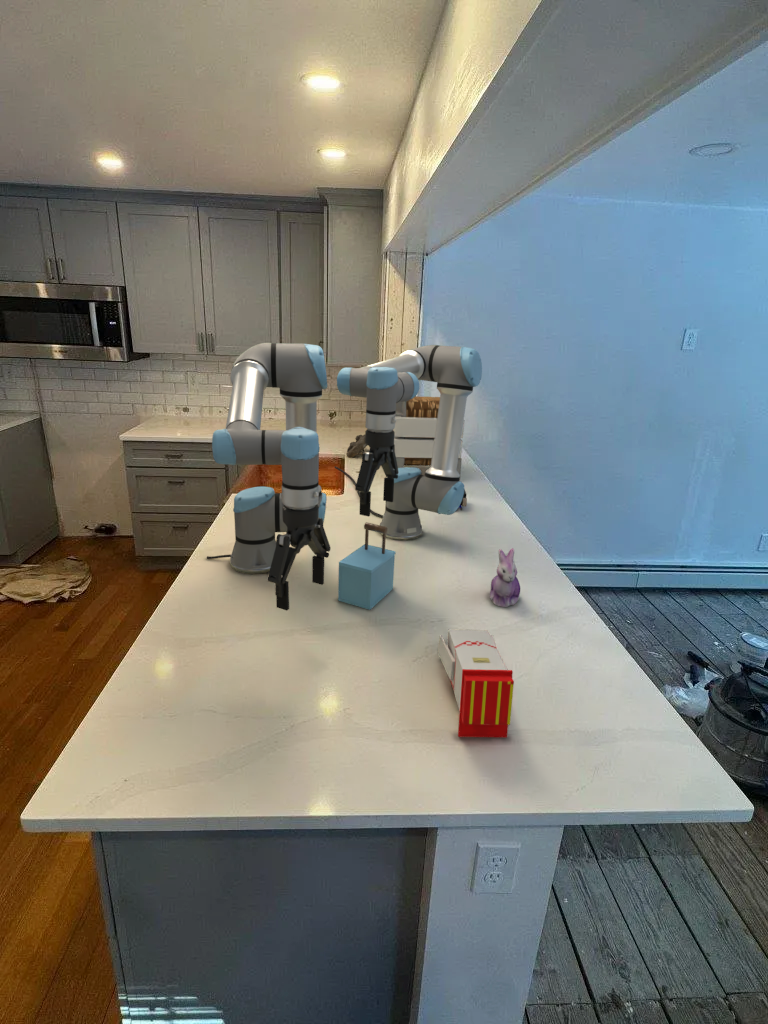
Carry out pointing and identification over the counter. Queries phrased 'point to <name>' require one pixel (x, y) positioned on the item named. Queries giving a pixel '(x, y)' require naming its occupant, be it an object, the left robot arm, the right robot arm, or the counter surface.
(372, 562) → the lid
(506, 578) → the figurine
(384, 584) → the chest
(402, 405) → the white wooden crate
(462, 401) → the right robot arm
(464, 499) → the figurine character
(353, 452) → the fossil
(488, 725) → the toy
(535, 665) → the counter surface
